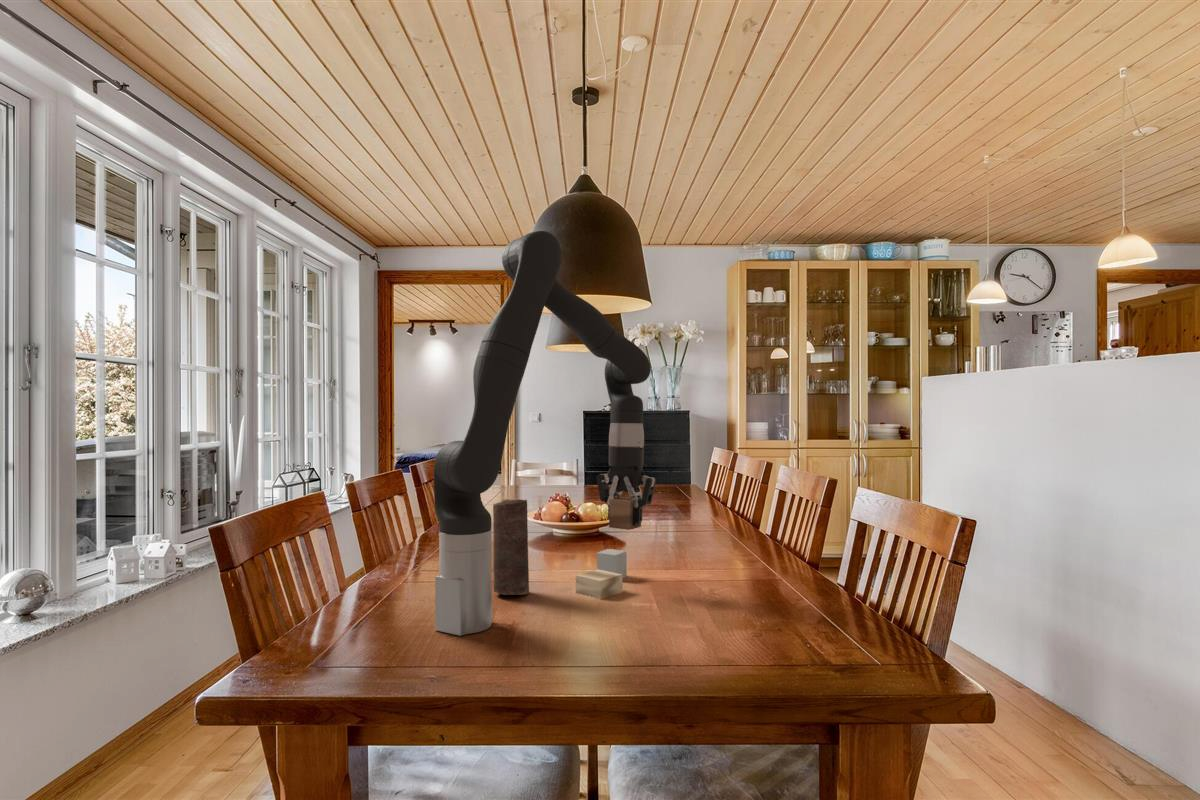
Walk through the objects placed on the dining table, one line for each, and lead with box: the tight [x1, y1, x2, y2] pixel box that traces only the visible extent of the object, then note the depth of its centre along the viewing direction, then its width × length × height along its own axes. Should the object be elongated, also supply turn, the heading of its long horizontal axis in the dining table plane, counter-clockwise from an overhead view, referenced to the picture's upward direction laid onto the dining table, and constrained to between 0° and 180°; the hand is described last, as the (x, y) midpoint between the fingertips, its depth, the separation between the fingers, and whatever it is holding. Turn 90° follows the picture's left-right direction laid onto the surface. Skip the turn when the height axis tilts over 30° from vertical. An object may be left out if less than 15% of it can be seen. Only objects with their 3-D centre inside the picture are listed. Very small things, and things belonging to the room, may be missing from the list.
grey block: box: [596, 548, 628, 580], centre depth 153 cm, size 5×5×6 cm
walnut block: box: [608, 496, 642, 531], centre depth 142 cm, size 5×5×6 cm
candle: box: [492, 499, 530, 596], centre depth 139 cm, size 8×7×20 cm
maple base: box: [575, 569, 623, 600], centre depth 141 cm, size 7×7×4 cm
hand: (625, 523), depth 142 cm, fingers closed on walnut block, 5 cm apart
